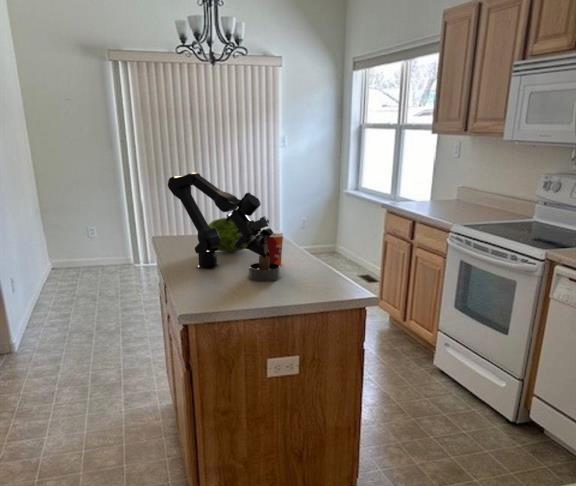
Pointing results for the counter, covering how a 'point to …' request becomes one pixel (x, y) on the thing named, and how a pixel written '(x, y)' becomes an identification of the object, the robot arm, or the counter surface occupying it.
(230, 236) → the lettuce
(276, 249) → the paper cup
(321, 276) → the counter surface
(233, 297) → the counter surface
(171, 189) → the robot arm
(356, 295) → the counter surface
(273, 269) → the tub
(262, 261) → the brown stepped tower
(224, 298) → the counter surface
